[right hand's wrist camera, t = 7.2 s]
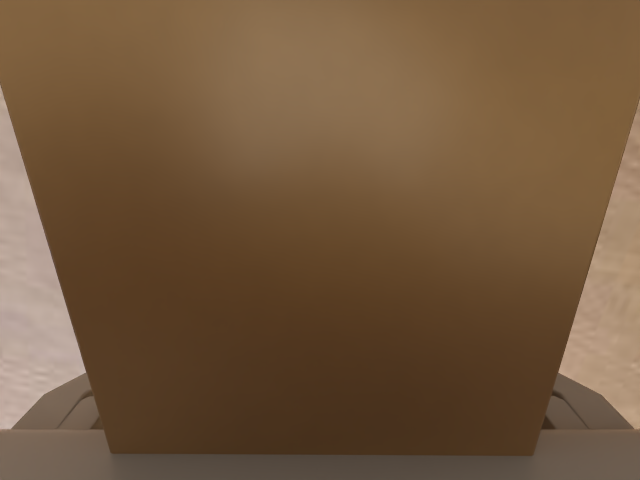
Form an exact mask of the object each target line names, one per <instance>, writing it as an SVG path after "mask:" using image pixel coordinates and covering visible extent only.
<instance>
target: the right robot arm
mask: <svg viewBox="0 0 640 480" xmlns="http://www.w3.org/2000/svg"><path fill="white" fill-rule="evenodd" d="M0 480H640V429H634V428H633V427H632V426H631V425H630V424H629V423H628V422H627V421H626V420H625V419H624V418H623V417H622V416H621V415H620V414H619V413H618V412H617V411H616V409H615V408H614V407H613V406H612V405H611V404H610V403H609V402H608V401H607V400H606V399H605V398H604V397H603V396H602V395H600V394H598V393H596V392H595V391H593V390H591V389H589V388H587V387H585V386H583V385H581V384H579V383H577V382H575V381H573V380H571V379H569V378H568V377H566V376H564V375H562V374H560V373H558V374H557V378H556V381H555V384H554V388H553V391H552V394H551V398H550V401H549V405H548V408H547V411H546V415H545V418H544V421H543V425H542V428H541V431H540V435H539V438H538V441H537V445H536V448H535V452H534V455H532V456H443V455H263V454H112V453H110V450H109V446H108V443H107V440H106V436H105V433H104V430H103V426H102V423H101V420H100V416H99V413H98V410H97V406H96V403H95V400H94V396H93V393H92V390H91V386H90V383H89V379H88V376H87V373H84V374H83V375H81V376H79V377H77V378H75V379H73V380H71V381H69V382H67V383H65V384H63V385H62V386H60V387H58V388H56V389H54V390H52V391H50V392H48V393H46V394H44V395H43V396H42V397H41V398H40V399H39V400H38V402H37V403H36V404H35V405H34V406H33V407H32V408H31V409H30V410H29V411H28V412H27V413H26V414H25V415H24V416H23V417H22V418H21V419H20V420H19V421H18V422H17V423H16V424H15V425H14V426H13V427H12V428H11V429H0Z"/></svg>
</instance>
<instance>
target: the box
mask: <svg viewBox="0 0 640 480" xmlns="http://www.w3.org/2000/svg"><path fill="white" fill-rule="evenodd" d="M0 85H1V88H2V91H3V95H4V98H5V101H6V105H7V108H8V111H9V115H10V118H11V122H12V125H13V128H14V132H15V135H16V138H17V142H18V145H19V148H20V152H21V155H22V158H23V162H24V165H25V168H26V172H27V175H28V178H29V182H30V185H31V189H32V192H33V195H34V199H35V202H36V205H37V209H38V212H39V215H40V219H41V222H42V225H43V229H44V232H45V235H46V239H47V242H48V245H49V249H50V252H51V256H52V259H53V262H54V266H55V269H56V272H57V276H58V279H59V282H60V286H61V289H62V292H63V296H64V299H65V302H66V306H67V309H68V312H69V316H70V319H71V323H72V326H73V329H74V333H75V336H76V339H77V343H78V346H79V349H80V353H81V356H82V359H83V363H84V366H85V369H86V373H87V376H88V379H89V383H90V386H91V390H92V393H93V396H94V400H95V403H96V406H97V410H98V413H99V416H100V420H101V423H102V426H103V430H104V433H105V436H106V440H107V443H108V446H109V450H110V453H112V454H263V455H443V456H532V455H534V452H535V448H536V445H537V441H538V438H539V435H540V431H541V428H542V425H543V421H544V418H545V415H546V411H547V408H548V405H549V401H550V398H551V394H552V391H553V388H554V384H555V381H556V378H557V374H558V371H559V368H560V364H561V361H562V358H563V354H564V351H565V348H566V344H567V341H568V337H569V334H570V331H571V327H572V324H573V321H574V317H575V314H576V311H577V307H578V304H579V301H580V297H581V294H582V291H583V287H584V284H585V280H586V277H587V274H588V270H589V267H590V264H591V260H592V257H593V254H594V250H595V247H596V244H597V240H598V237H599V233H600V230H601V227H602V223H603V220H604V217H605V213H606V210H607V207H608V203H609V200H610V197H611V193H612V190H613V187H614V183H615V180H616V176H617V173H618V170H619V166H620V163H621V160H622V156H623V153H624V150H625V146H626V143H627V140H628V136H629V133H630V129H631V126H632V123H633V119H634V116H635V113H636V109H637V106H638V103H639V99H640V0H0Z"/></svg>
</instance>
